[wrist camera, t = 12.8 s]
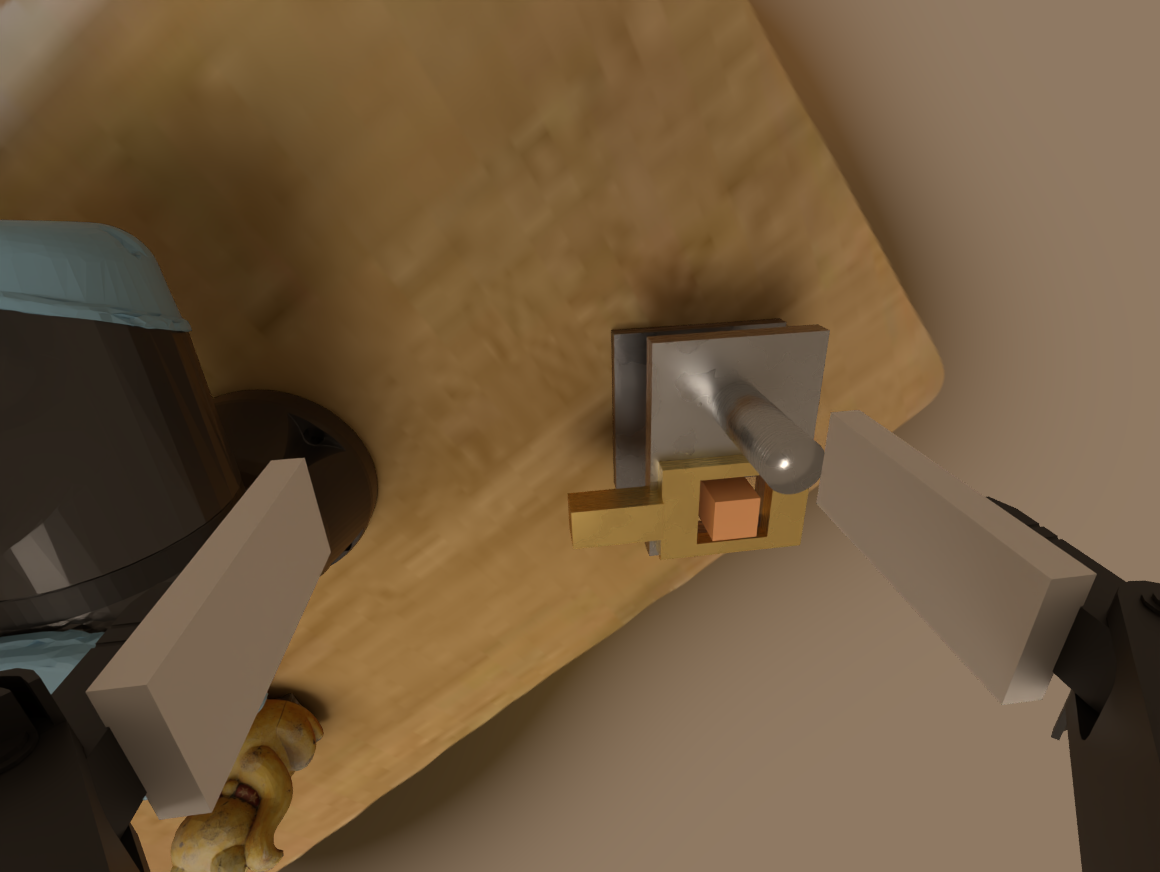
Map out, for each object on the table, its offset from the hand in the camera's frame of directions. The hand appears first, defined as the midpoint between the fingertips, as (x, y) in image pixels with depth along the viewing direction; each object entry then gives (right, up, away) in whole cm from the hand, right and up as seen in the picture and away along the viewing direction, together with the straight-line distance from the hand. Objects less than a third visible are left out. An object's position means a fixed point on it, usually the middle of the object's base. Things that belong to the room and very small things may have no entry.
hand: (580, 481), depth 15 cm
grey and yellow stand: (+7, +4, +31) cm, 32 cm away
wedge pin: (+9, 0, +32) cm, 33 cm away
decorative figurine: (-30, -25, +40) cm, 56 cm away
